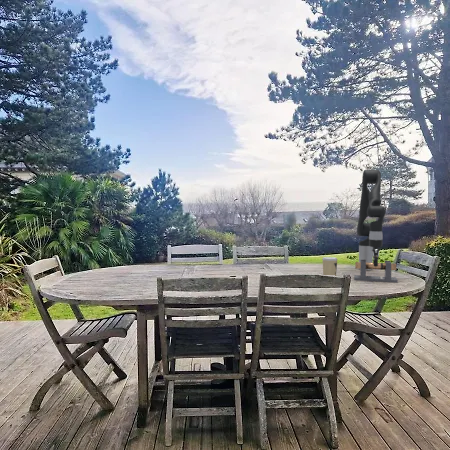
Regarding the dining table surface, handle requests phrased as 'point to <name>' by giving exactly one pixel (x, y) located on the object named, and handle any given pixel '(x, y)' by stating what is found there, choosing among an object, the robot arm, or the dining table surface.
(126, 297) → the dining table surface
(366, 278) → the grey u-shaped frame
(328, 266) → the coffee cup
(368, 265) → the copper tube
